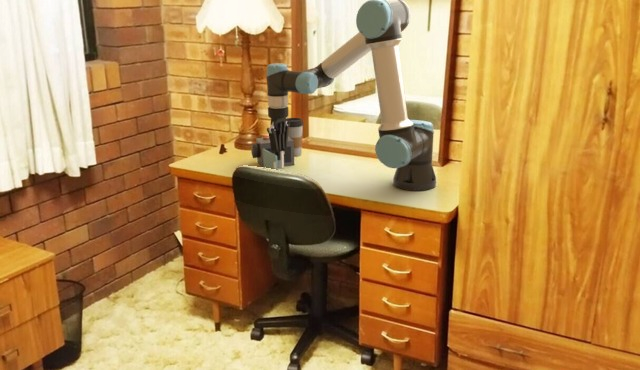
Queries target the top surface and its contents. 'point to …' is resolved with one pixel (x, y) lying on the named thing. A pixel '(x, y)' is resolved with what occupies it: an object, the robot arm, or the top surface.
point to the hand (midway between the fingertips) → (280, 167)
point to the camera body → (265, 144)
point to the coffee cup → (296, 134)
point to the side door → (269, 160)
